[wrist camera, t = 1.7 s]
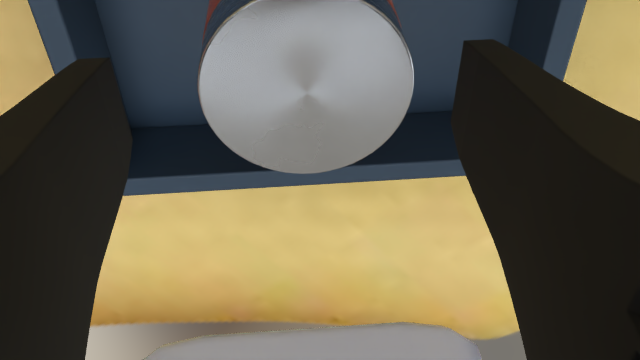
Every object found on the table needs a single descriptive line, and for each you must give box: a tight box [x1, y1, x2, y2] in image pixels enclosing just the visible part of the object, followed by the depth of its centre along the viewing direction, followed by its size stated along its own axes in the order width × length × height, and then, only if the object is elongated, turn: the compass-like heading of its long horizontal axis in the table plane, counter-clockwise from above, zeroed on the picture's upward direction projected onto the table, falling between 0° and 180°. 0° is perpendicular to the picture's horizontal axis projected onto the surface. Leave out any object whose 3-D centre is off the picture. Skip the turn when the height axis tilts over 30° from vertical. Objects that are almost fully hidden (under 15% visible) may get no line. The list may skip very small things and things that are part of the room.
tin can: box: [197, 0, 414, 174], centre depth 16 cm, size 5×5×7 cm
